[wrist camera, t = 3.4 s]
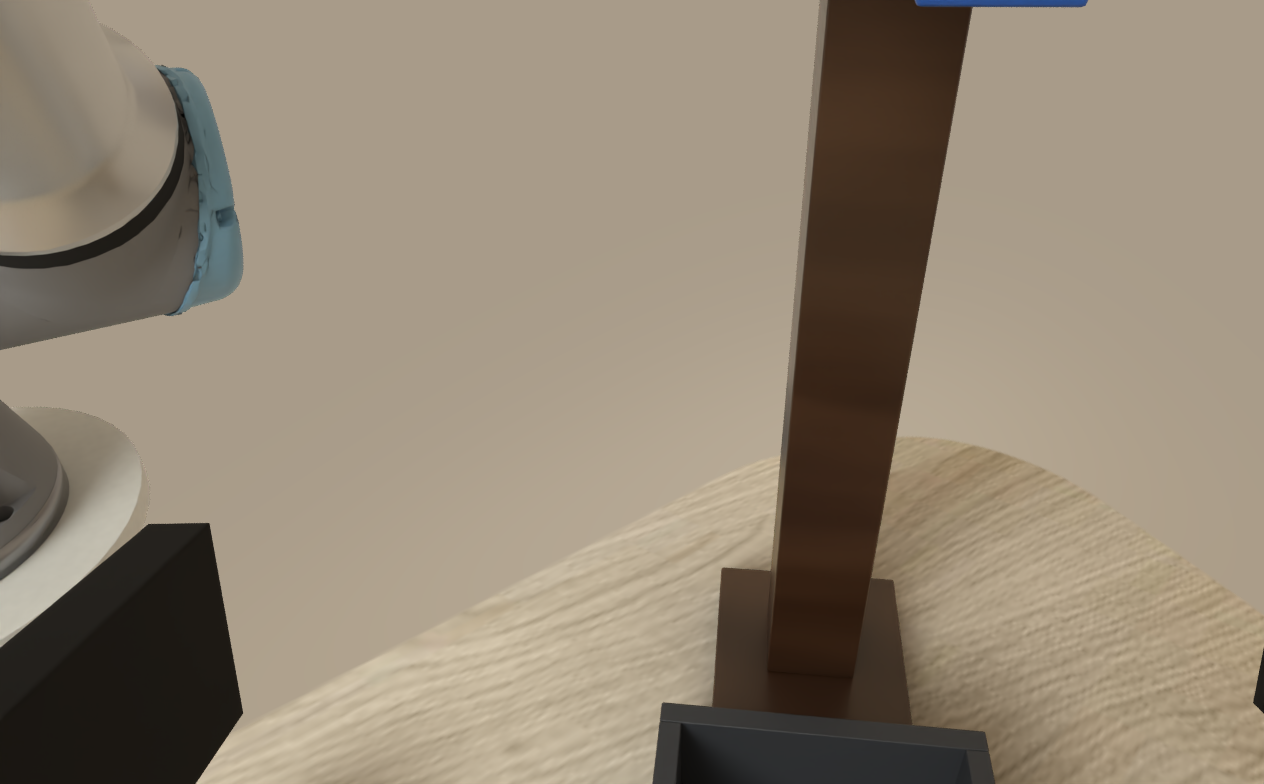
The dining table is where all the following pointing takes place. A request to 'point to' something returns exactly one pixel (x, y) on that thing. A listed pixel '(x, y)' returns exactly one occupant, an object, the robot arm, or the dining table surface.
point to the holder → (811, 750)
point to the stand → (847, 369)
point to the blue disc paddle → (1001, 3)
